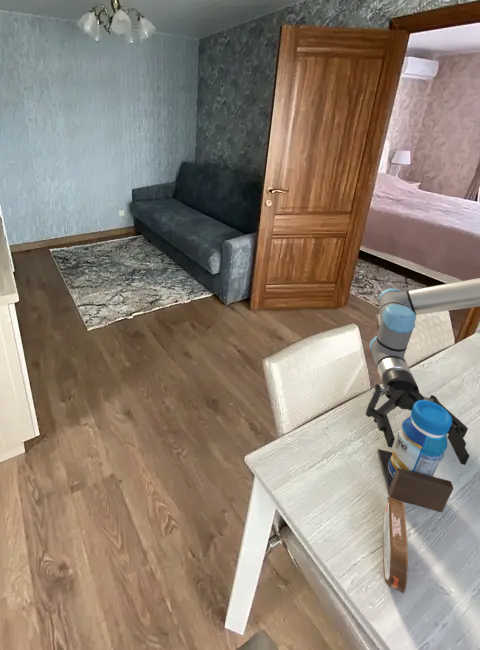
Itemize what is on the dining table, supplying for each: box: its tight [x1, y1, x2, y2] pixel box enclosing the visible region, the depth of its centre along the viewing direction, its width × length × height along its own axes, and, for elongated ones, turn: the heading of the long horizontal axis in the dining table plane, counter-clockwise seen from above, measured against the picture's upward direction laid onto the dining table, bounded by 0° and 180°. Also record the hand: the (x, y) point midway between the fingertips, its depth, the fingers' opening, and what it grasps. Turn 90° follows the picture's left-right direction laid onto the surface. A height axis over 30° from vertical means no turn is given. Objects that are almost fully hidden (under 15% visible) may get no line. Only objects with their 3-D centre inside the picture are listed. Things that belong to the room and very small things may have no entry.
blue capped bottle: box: [388, 400, 452, 477], centre depth 76 cm, size 8×8×20 cm
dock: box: [376, 448, 454, 513], centre depth 78 cm, size 12×10×8 cm
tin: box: [382, 496, 409, 594], centre depth 65 cm, size 15×3×8 cm, turn 152°
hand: (427, 451), depth 73 cm, fingers open, 13 cm apart
